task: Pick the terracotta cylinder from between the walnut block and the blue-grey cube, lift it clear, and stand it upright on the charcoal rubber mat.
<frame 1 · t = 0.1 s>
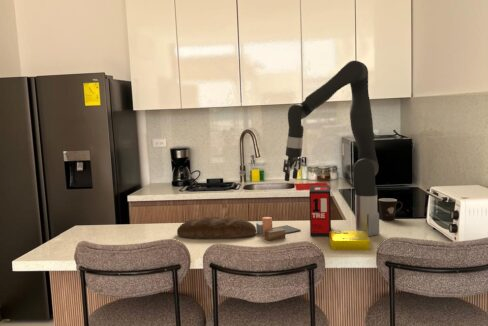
hand: (290, 179, 200), 22 cm above the counter, tool pointing down, fingers open, 8 cm apart
coffee mug: (390, 220, 206), on the counter
terracotta cylinder: (267, 235, 185), on the counter
bread: (216, 236, 189), on the counter
cleaning product box: (321, 232, 188), on the counter
charcoal mat: (285, 230, 193), on the counter
walnut block: (275, 239, 180), on the counter
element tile: (348, 246, 167), on the counter
blue-grey cube: (262, 232, 190), on the counter
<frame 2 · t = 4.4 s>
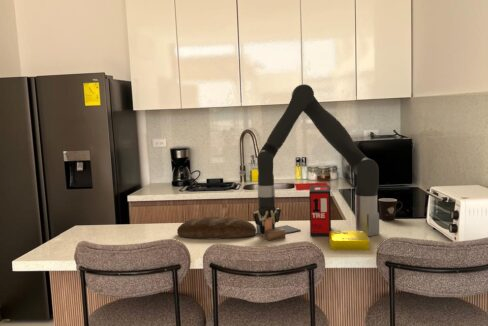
hand: (267, 232, 185), 1 cm above the counter, tool pointing down, fingers closed on terracotta cylinder, 4 cm apart
terracotta cylinder: (267, 235, 185), on the counter, touching gripper
everything else where it was.
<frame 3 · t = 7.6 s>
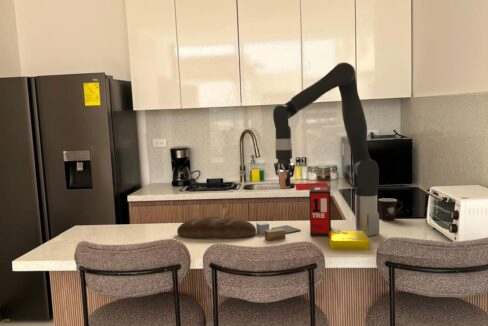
hand: (284, 185, 191), 21 cm above the counter, tool pointing down, fingers closed on terracotta cylinder, 4 cm apart
terracotta cylinder: (284, 188, 192), point 20 cm above the counter, touching gripper
everything else where it was.
when the fingers open (3 cm above the counter, at t = 11.1 s): terracotta cylinder drops 1 cm, resting on charcoal mat.
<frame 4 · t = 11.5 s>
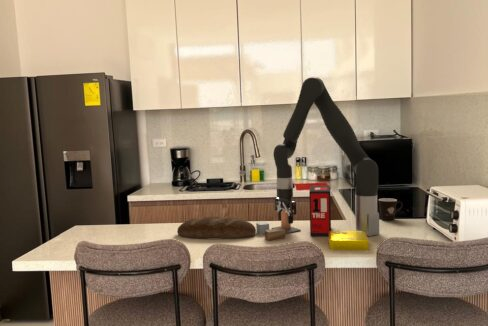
hand: (285, 221, 193), 4 cm above the counter, tool pointing down, fingers open, 7 cm apart
terracotta cylinder: (286, 228, 193), point 1 cm above the counter, touching charcoal mat
everything else where it was.
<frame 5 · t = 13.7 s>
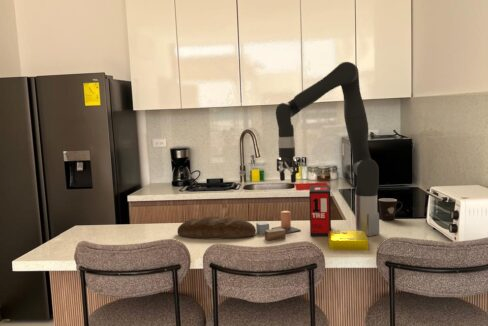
hand: (287, 181, 193), 23 cm above the counter, tool pointing down, fingers open, 8 cm apart
nothing on the counter moved.
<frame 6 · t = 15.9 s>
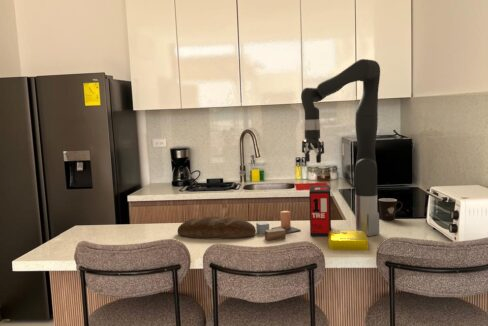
hand: (312, 162, 204), 30 cm above the counter, tool pointing down, fingers open, 8 cm apart
nothing on the counter moved.
at the end: terracotta cylinder inside the target area on the charcoal mat (0.1 cm from its centre), point 0.6 cm above the charcoal mat's base; terracotta cylinder tilted 1°; the gripper is holding nothing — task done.
